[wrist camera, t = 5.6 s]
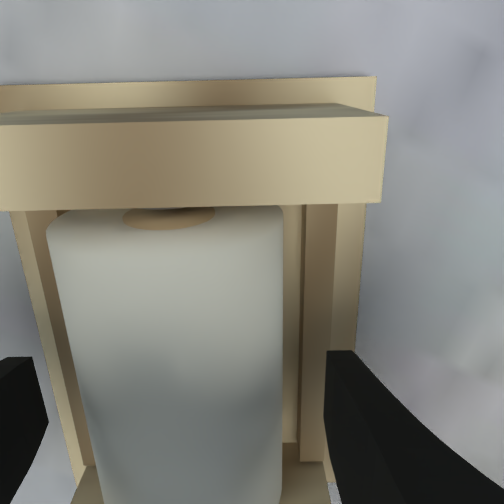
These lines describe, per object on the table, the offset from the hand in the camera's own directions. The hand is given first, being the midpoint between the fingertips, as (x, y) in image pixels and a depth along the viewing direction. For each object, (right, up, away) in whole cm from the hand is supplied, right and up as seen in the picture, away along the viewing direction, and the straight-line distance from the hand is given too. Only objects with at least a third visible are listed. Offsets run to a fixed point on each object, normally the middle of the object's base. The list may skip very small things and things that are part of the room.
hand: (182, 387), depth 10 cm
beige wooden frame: (0, +2, +4) cm, 4 cm away
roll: (0, +1, +3) cm, 3 cm away
